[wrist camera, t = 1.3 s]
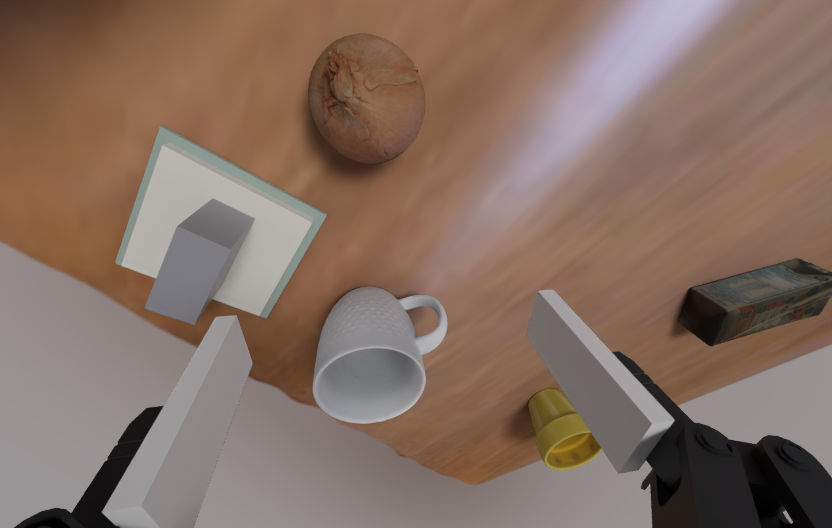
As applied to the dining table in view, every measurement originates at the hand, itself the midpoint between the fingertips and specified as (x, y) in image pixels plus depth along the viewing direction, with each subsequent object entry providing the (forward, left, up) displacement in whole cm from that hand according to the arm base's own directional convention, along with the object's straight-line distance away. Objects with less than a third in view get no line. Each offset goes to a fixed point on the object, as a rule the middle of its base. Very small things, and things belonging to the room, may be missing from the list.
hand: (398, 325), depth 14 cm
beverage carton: (+59, +17, -24) cm, 66 cm away
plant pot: (+47, -18, -23) cm, 55 cm away
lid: (-11, -14, -23) cm, 28 cm away
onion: (-5, +6, -23) cm, 25 cm away
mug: (+8, -14, -23) cm, 28 cm away
